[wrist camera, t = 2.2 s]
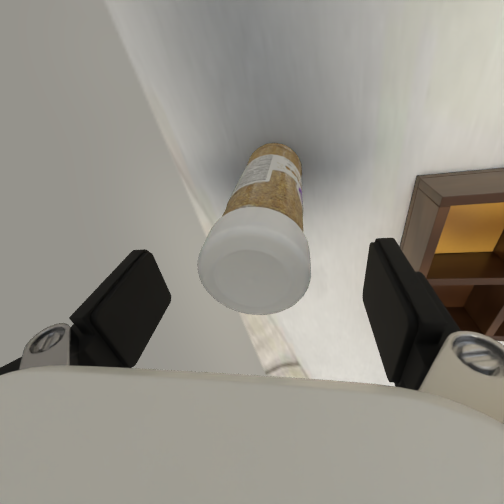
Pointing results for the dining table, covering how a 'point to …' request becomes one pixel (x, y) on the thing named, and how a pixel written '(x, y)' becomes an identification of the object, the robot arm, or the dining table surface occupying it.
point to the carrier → (461, 245)
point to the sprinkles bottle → (260, 238)
